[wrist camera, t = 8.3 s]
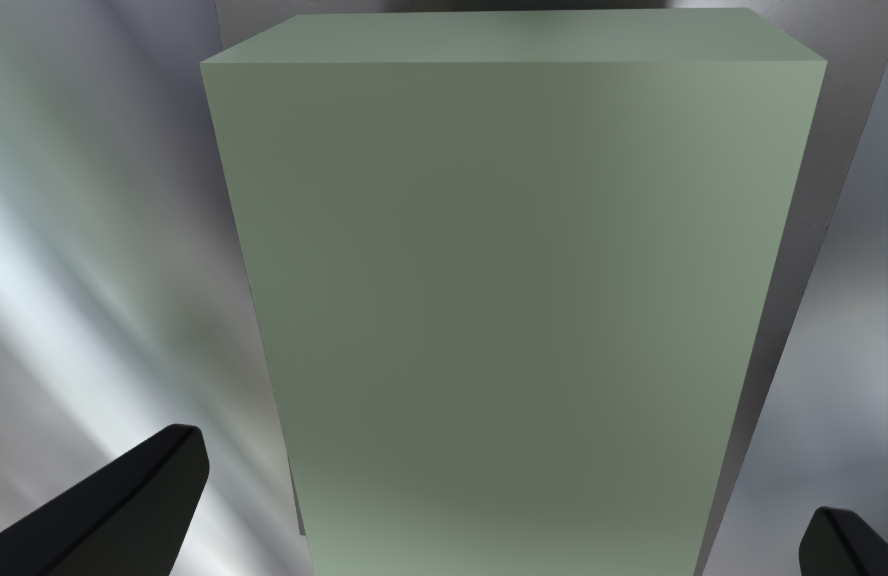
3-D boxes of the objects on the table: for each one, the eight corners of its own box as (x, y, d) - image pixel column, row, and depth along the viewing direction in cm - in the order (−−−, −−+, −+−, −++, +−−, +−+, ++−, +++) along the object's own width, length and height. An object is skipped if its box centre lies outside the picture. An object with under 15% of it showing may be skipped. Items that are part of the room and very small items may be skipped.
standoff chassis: (990, -321, 9) (1349, -493, 5) (690, 562, 20) (724, 744, 16) (194, -303, 11) (-44, -426, 6) (310, 509, 21) (248, 662, 17)
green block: (747, 7, 8) (827, 60, 6) (637, 585, 15) (652, 732, 12) (299, 14, 9) (198, 63, 7) (376, 555, 15) (339, 685, 13)
